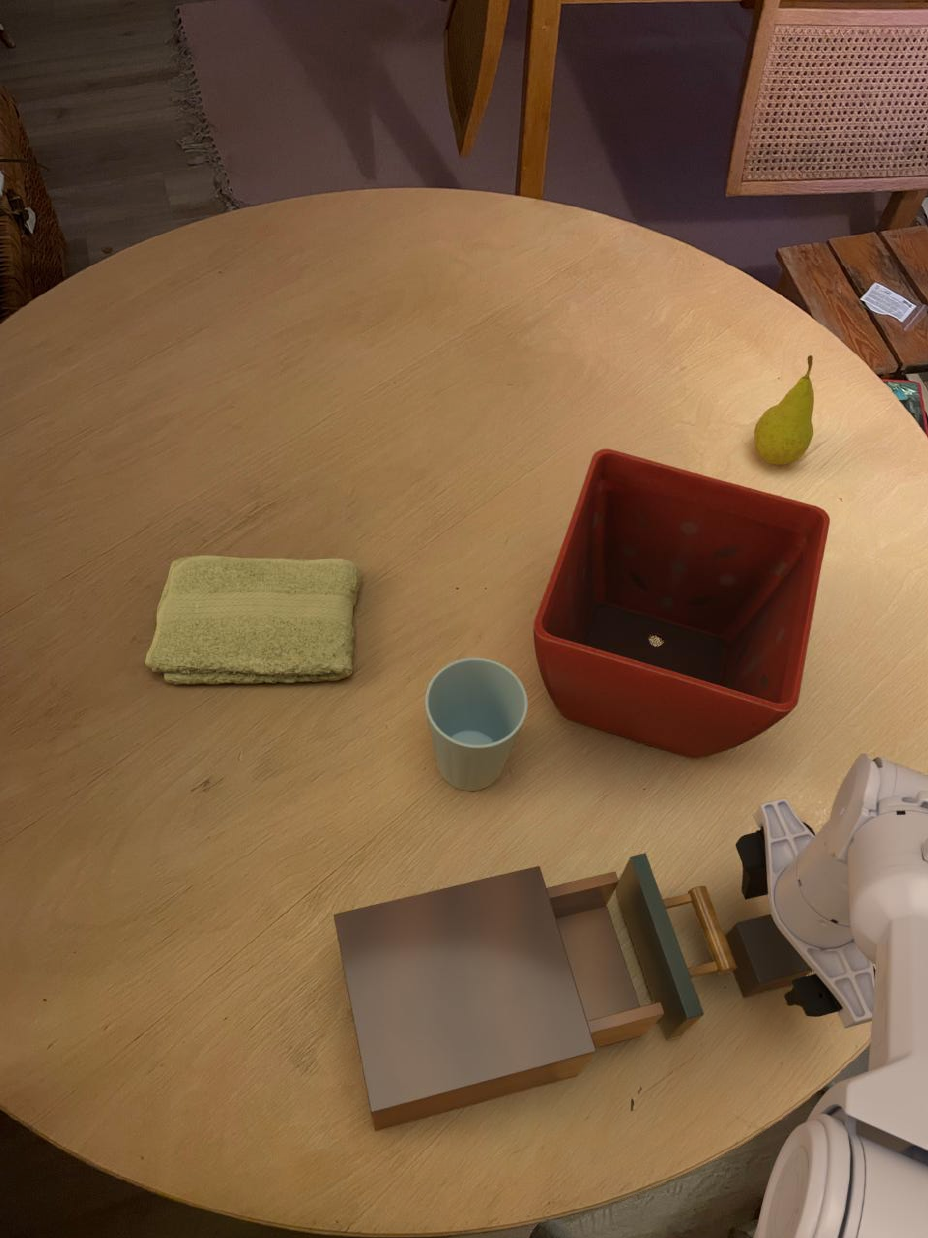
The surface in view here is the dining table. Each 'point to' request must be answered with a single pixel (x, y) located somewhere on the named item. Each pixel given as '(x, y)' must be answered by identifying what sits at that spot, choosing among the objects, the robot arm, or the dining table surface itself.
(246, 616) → the washcloth
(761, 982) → the block
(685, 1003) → the drawer
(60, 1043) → the dining table surface
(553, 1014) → the cabinet
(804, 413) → the fruit
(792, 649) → the flower pot
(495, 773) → the cup
